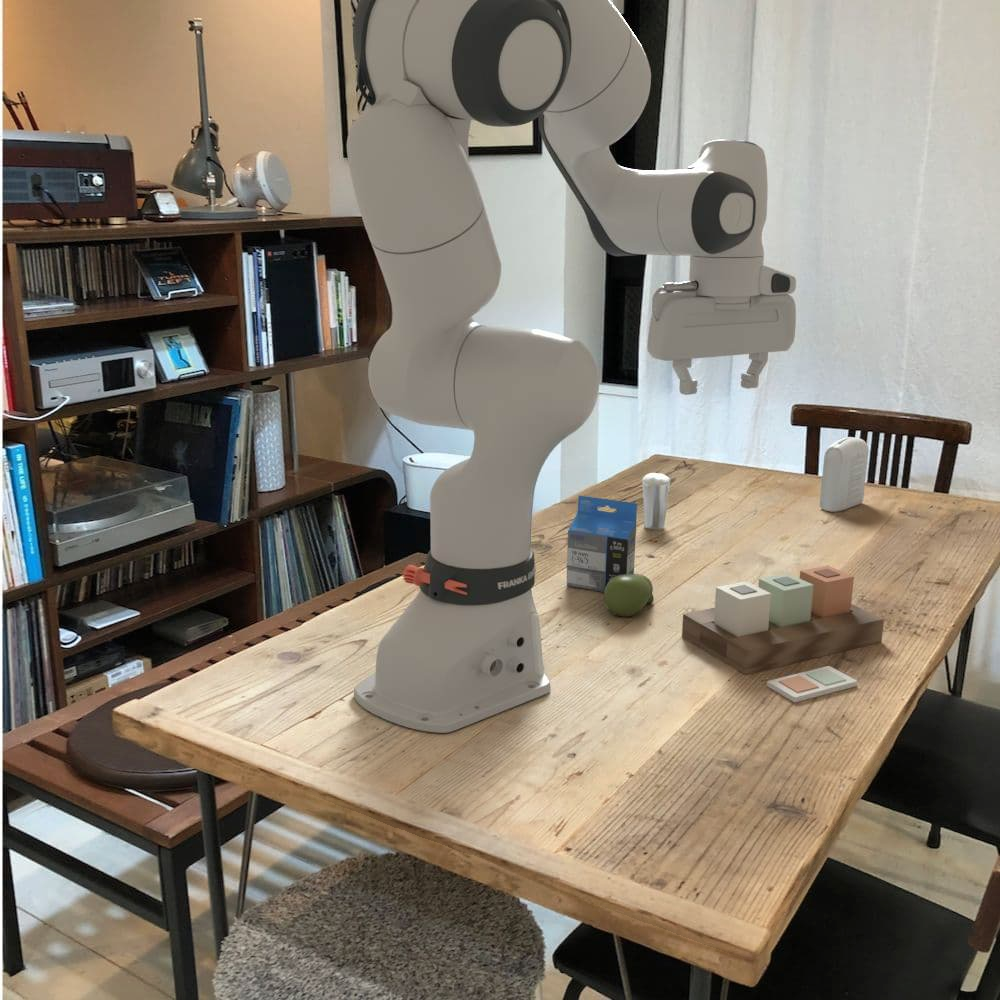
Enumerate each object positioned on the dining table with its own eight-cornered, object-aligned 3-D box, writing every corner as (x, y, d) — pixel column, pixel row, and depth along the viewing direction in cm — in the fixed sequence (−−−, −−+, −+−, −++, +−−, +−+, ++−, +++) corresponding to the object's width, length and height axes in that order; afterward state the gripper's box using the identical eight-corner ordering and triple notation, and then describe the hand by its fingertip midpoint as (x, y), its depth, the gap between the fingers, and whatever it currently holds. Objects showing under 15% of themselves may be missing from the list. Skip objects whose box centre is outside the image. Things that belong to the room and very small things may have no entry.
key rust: (822, 618, 125) (826, 581, 124) (797, 605, 129) (800, 569, 128) (850, 612, 127) (854, 575, 126) (824, 600, 131) (827, 564, 130)
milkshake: (664, 534, 166) (667, 474, 164) (635, 528, 169) (637, 469, 167) (677, 527, 170) (680, 468, 167) (648, 521, 173) (651, 464, 170)
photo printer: (844, 498, 187) (850, 431, 184) (866, 503, 184) (873, 435, 181) (815, 509, 180) (821, 440, 177) (838, 514, 177) (844, 444, 174)
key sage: (781, 627, 122) (784, 589, 121) (756, 614, 126) (759, 577, 125) (810, 621, 124) (813, 583, 123) (784, 608, 128) (787, 572, 127)
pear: (599, 575, 132) (625, 565, 141) (595, 615, 132) (621, 602, 141) (640, 582, 129) (664, 571, 138) (636, 623, 130) (660, 609, 139)
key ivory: (737, 637, 120) (740, 598, 118) (713, 623, 123) (716, 586, 122) (768, 630, 122) (771, 592, 120) (743, 617, 125) (746, 580, 124)
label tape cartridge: (564, 586, 143) (566, 501, 140) (574, 578, 147) (577, 494, 143) (625, 597, 140) (629, 510, 136) (634, 587, 143) (638, 502, 140)
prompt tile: (794, 702, 110) (794, 696, 110) (766, 686, 114) (767, 680, 113) (856, 685, 114) (857, 679, 114) (828, 670, 118) (828, 664, 117)
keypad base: (745, 674, 116) (747, 650, 116) (681, 636, 127) (683, 613, 126) (881, 641, 125) (884, 618, 125) (812, 608, 136) (814, 587, 135)
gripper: (668, 285, 120) (663, 402, 124) (807, 278, 128) (798, 388, 132) (639, 281, 125) (635, 393, 129) (774, 275, 133) (766, 380, 137)
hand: (719, 390), depth 131 cm, fingers open, 8 cm apart
